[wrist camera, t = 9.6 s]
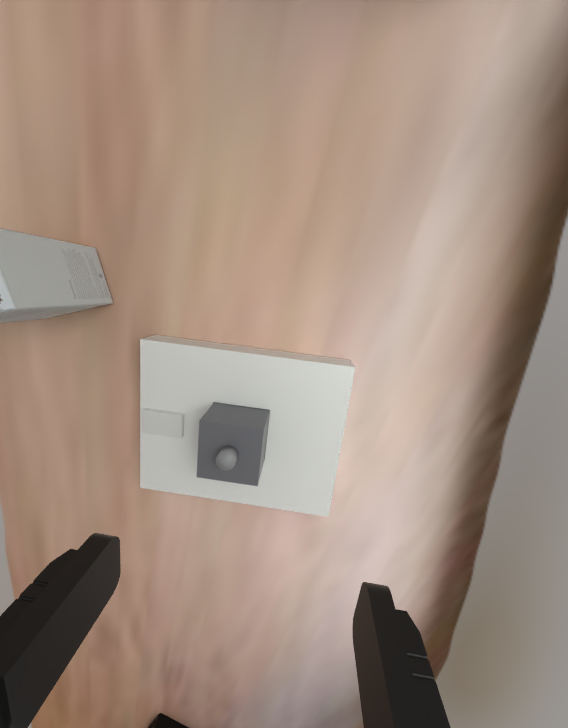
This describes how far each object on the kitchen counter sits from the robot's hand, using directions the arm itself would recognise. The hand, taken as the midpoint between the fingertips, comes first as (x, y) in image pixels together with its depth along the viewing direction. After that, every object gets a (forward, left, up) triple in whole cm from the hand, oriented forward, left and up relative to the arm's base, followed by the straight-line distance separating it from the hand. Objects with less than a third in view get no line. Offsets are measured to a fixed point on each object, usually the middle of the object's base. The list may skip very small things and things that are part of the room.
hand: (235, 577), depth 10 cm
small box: (-7, -23, -22) cm, 32 cm away
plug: (+5, -4, -22) cm, 22 cm away
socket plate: (+5, -4, -22) cm, 22 cm away
